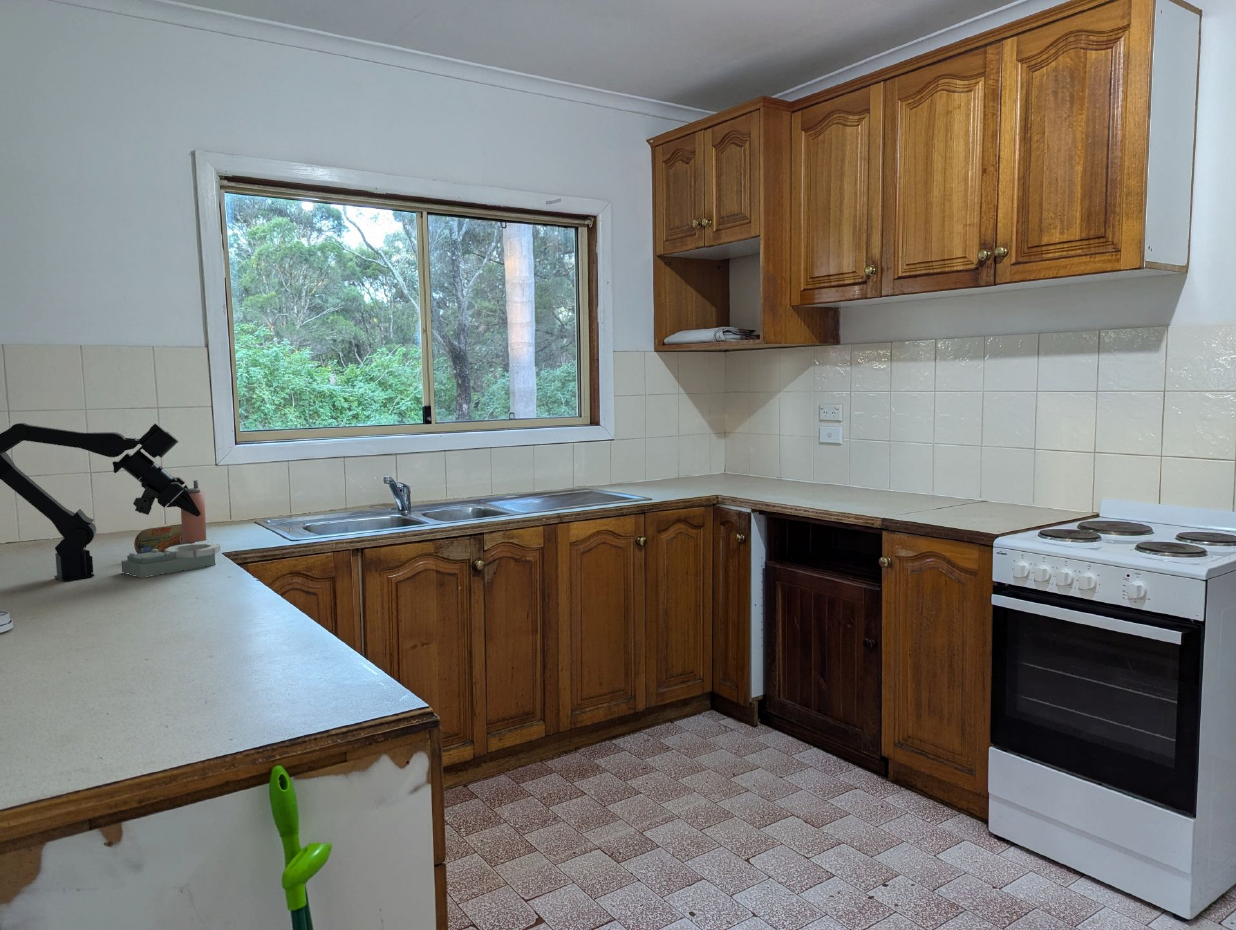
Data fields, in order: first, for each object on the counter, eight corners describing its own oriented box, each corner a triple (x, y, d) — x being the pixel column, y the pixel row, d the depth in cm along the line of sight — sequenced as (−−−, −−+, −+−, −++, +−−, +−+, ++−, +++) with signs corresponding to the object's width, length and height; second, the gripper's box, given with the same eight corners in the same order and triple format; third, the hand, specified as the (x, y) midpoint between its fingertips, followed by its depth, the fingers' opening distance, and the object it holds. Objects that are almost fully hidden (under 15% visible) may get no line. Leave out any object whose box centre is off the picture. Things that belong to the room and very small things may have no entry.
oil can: (193, 542, 210) (191, 482, 209) (177, 541, 212) (174, 481, 211) (211, 539, 215) (208, 480, 214) (195, 538, 217) (192, 479, 216)
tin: (139, 562, 221) (136, 530, 220) (133, 560, 223) (131, 529, 222) (196, 552, 233) (195, 522, 232) (191, 551, 235) (189, 521, 234)
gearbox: (142, 578, 201) (141, 558, 201) (120, 572, 209) (119, 553, 208) (228, 563, 218) (227, 544, 217) (205, 558, 225) (204, 540, 225)
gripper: (124, 492, 214) (175, 532, 220) (117, 500, 198) (173, 543, 203) (158, 460, 217) (208, 500, 223) (154, 465, 201) (208, 509, 206)
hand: (199, 513), depth 214 cm, fingers closed on oil can, 5 cm apart
